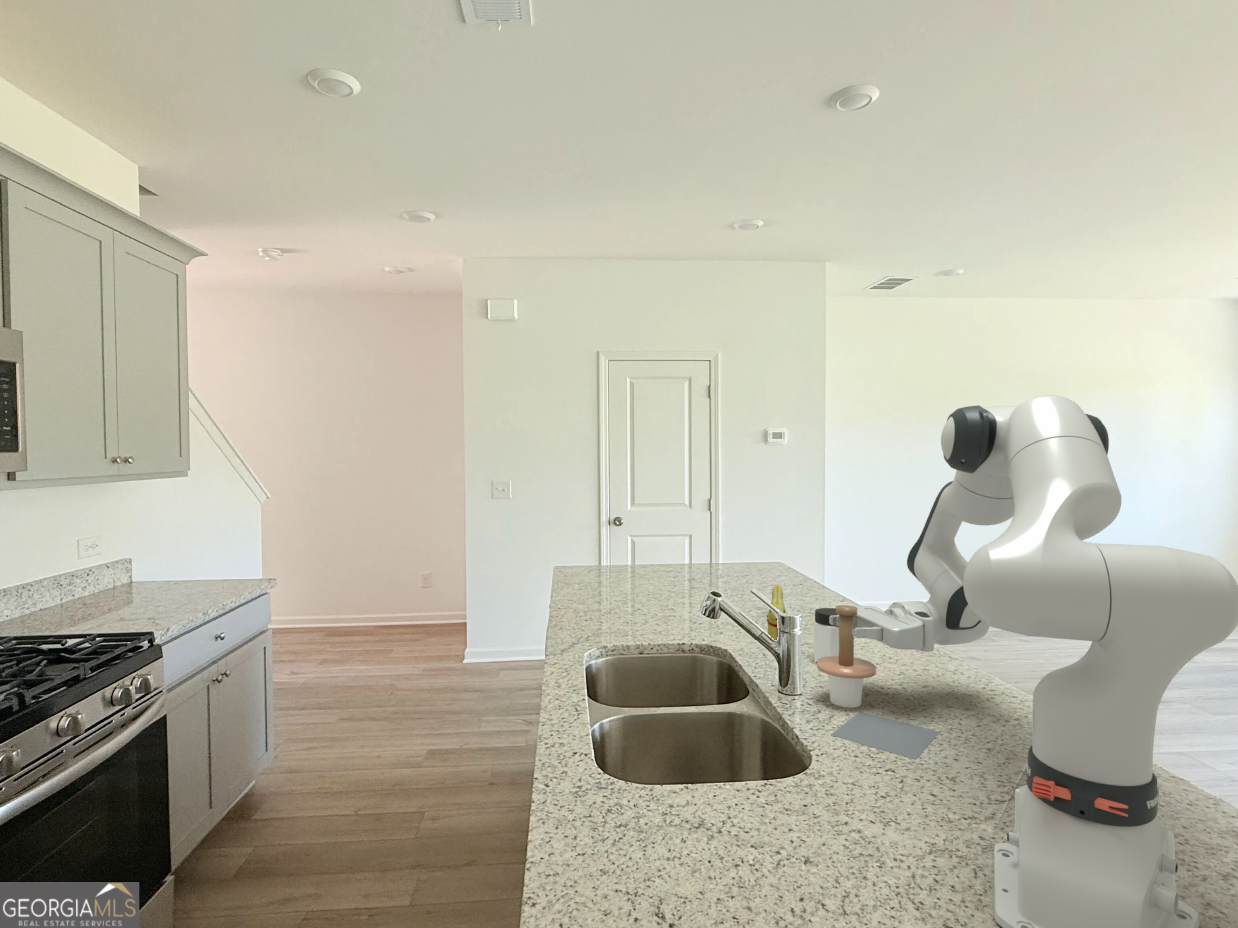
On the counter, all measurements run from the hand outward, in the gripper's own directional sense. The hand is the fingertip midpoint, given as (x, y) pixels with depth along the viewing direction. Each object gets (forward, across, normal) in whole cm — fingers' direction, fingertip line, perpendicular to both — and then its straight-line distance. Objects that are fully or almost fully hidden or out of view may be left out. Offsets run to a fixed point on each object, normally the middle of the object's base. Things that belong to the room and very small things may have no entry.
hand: (842, 626), depth 128 cm
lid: (-1, 0, +8) cm, 9 cm away
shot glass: (-1, 0, +16) cm, 16 cm away
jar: (-12, -26, +16) cm, 33 cm away
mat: (0, +15, +16) cm, 21 cm away
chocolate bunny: (-6, -44, +16) cm, 47 cm away
